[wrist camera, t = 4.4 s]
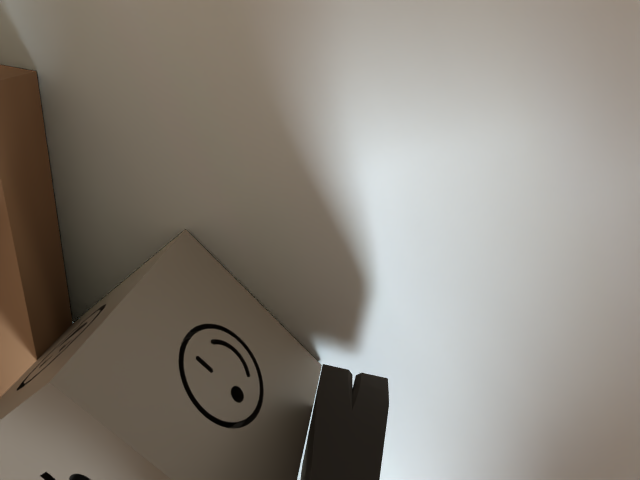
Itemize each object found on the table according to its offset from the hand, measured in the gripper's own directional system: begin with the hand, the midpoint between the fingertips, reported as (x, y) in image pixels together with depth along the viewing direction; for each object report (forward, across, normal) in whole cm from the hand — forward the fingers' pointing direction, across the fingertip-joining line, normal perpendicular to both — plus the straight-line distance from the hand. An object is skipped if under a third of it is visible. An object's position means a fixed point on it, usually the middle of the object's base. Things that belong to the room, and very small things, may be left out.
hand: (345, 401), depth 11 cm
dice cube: (+2, +4, +1) cm, 5 cm away
